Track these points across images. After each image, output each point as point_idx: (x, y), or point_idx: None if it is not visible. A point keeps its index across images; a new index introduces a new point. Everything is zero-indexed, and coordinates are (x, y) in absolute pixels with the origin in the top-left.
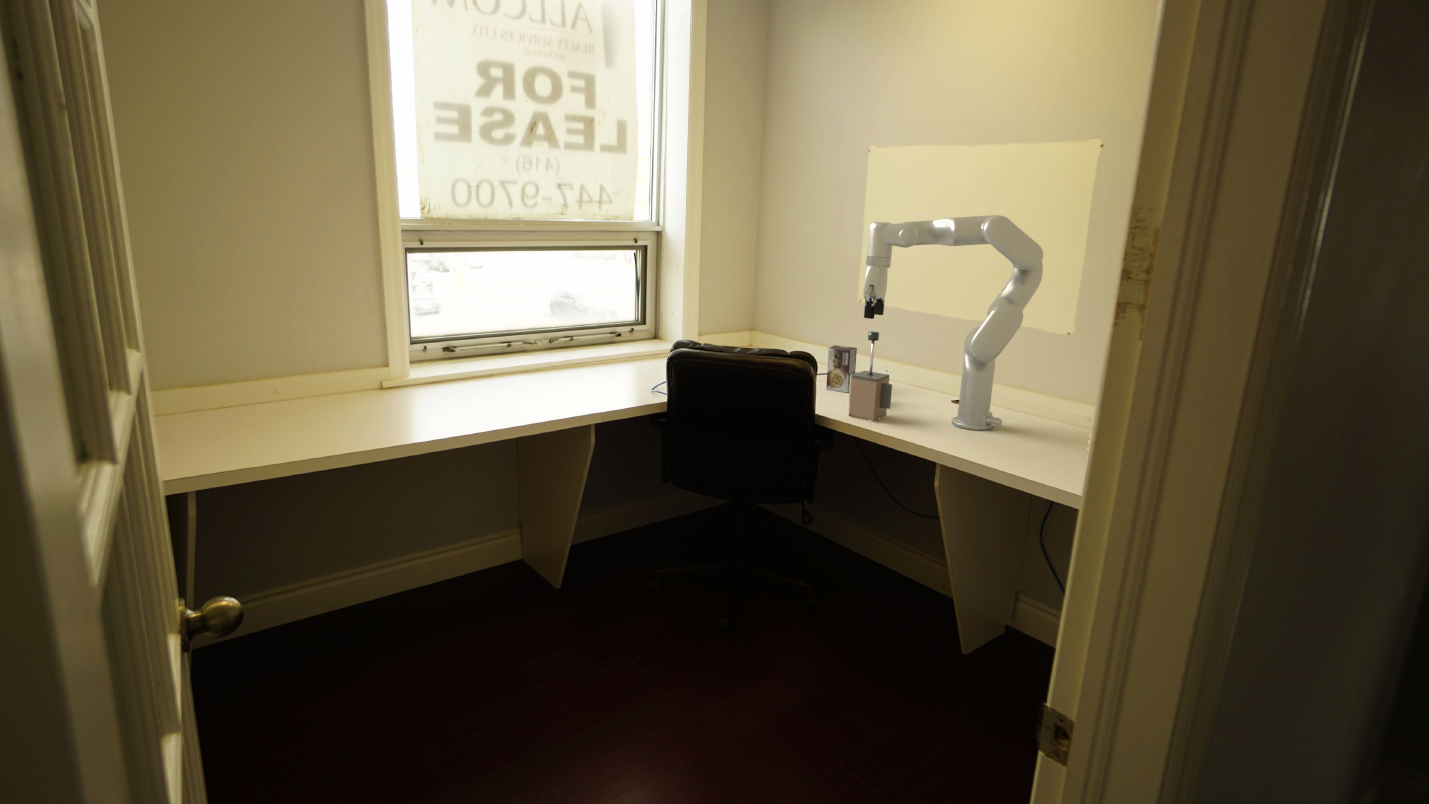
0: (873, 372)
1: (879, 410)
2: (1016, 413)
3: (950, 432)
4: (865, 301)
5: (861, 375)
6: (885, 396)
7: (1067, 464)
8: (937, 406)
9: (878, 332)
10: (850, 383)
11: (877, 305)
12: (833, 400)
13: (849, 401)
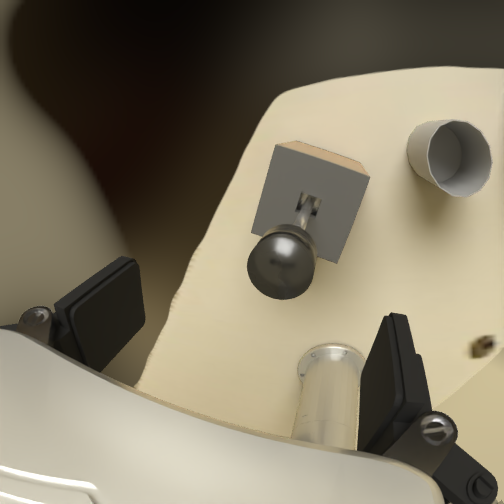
0: (351, 210)
1: None
2: None
3: (270, 338)
4: (18, 326)
5: (283, 177)
6: None
7: None
8: (448, 317)
9: (288, 295)
10: (438, 122)
11: (378, 402)
12: (427, 83)
13: (422, 124)
